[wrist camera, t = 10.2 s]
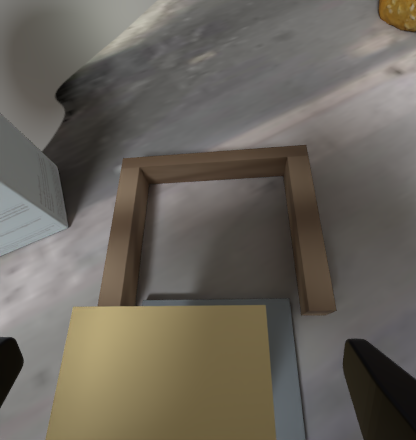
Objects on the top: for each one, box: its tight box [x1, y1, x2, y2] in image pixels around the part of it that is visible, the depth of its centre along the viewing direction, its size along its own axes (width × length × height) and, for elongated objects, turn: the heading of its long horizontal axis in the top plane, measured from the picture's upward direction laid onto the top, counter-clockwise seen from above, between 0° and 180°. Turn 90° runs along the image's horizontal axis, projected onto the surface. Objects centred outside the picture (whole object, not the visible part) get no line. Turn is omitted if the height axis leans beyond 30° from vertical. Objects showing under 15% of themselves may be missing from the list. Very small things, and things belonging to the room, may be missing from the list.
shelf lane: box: [98, 145, 337, 315], centre depth 20 cm, size 12×14×2 cm
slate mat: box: [142, 299, 305, 440], centre depth 17 cm, size 10×10×1 cm
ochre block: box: [46, 305, 276, 440], centre depth 11 cm, size 5×5×12 cm
